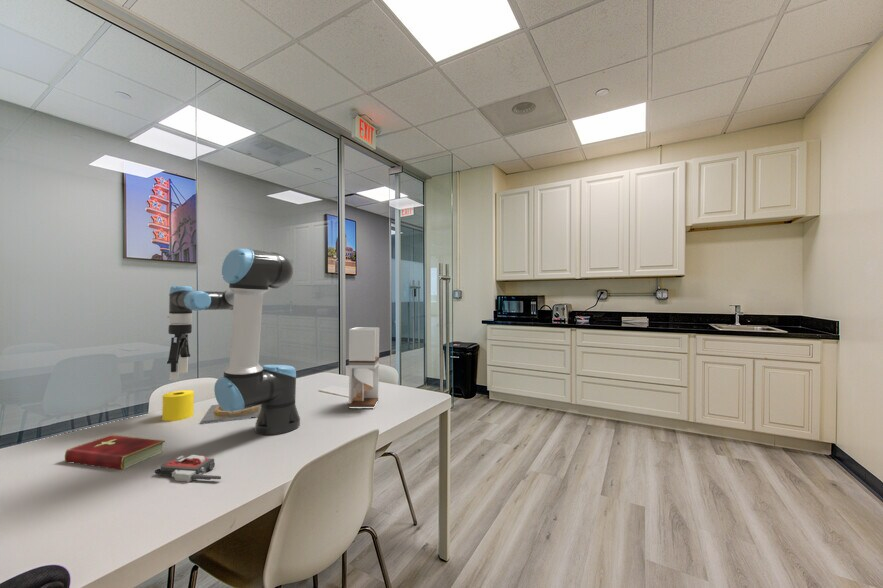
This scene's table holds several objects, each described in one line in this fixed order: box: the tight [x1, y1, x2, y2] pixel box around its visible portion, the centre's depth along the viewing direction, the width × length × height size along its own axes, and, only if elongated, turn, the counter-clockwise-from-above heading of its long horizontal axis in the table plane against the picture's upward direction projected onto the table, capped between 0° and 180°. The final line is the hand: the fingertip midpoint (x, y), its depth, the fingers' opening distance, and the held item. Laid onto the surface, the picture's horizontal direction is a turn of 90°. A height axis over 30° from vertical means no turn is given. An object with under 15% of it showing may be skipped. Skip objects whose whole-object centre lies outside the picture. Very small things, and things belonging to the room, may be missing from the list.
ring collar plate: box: [200, 404, 261, 425], centre depth 146 cm, size 22×22×2 cm
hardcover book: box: [64, 434, 166, 471], centre depth 104 cm, size 12×21×4 cm, turn 78°
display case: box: [347, 327, 380, 408], centre depth 158 cm, size 11×11×35 cm
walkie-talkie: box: [154, 454, 222, 483], centre depth 95 cm, size 9×4×20 cm
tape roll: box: [161, 389, 195, 422], centre depth 140 cm, size 10×10×9 cm
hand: (178, 376), depth 140 cm, fingers open, 13 cm apart
